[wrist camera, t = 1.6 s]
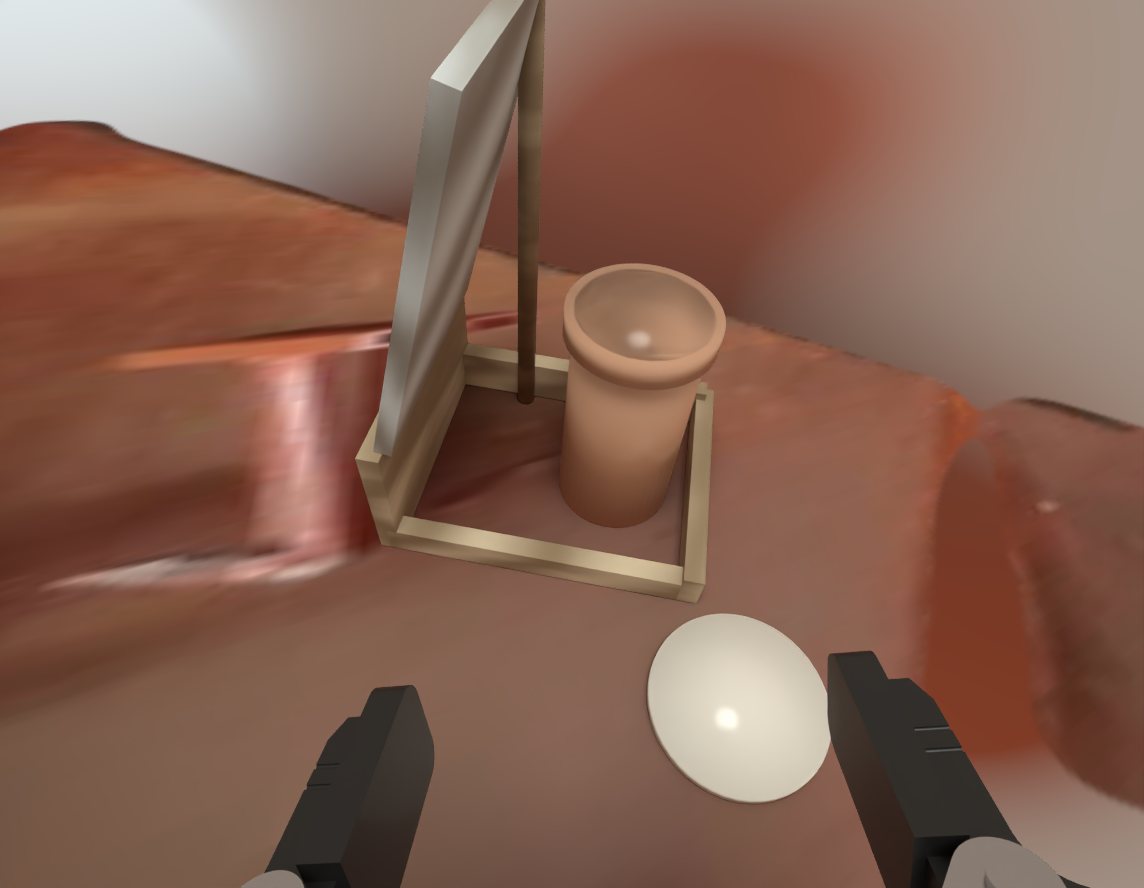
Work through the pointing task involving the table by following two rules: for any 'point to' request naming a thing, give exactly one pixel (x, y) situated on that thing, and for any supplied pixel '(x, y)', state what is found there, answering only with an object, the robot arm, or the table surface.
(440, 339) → the cold frame
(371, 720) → the robot arm
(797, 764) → the saucer
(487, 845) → the table surface
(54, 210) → the table surface
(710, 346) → the clay pot
